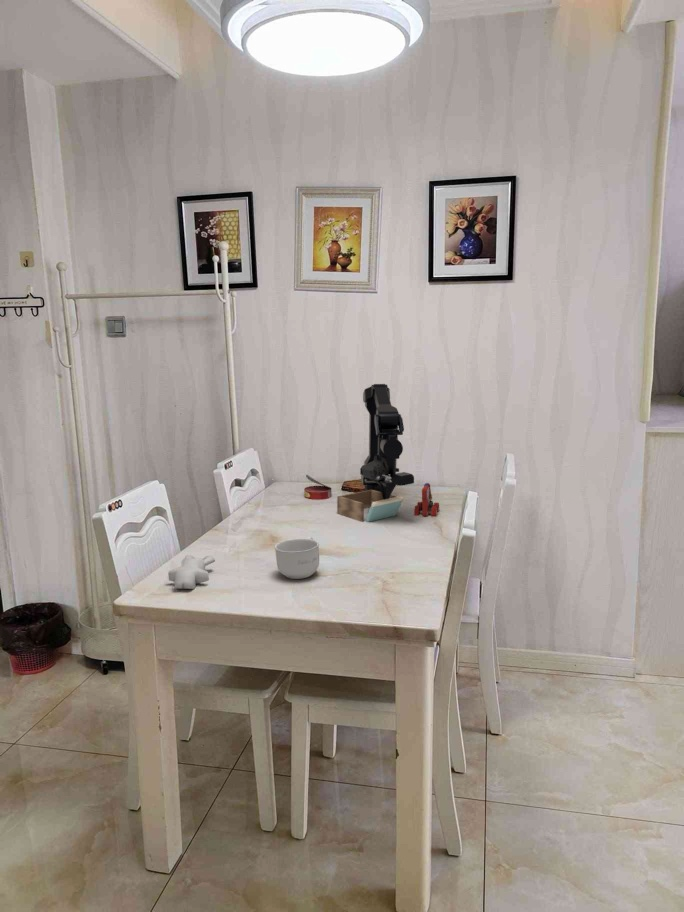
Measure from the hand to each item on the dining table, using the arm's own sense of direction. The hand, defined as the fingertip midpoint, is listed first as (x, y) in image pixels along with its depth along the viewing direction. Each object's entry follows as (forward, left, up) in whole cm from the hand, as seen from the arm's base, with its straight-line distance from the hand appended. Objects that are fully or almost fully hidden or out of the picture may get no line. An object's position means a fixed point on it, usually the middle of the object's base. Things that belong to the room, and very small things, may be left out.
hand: (385, 501), depth 208 cm
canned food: (-42, +5, -8) cm, 43 cm away
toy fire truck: (+2, +16, -7) cm, 18 cm away
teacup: (+18, -45, -7) cm, 49 cm away
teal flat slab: (-2, 0, -6) cm, 6 cm away
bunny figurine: (+5, -68, -8) cm, 69 cm away
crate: (-9, 0, -7) cm, 12 cm away
